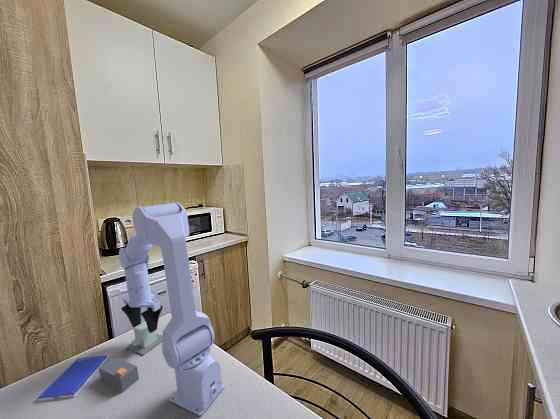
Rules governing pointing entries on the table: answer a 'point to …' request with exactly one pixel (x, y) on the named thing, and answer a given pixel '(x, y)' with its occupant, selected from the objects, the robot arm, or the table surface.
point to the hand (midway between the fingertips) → (144, 328)
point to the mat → (145, 350)
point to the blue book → (73, 378)
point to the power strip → (119, 374)
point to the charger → (143, 336)
